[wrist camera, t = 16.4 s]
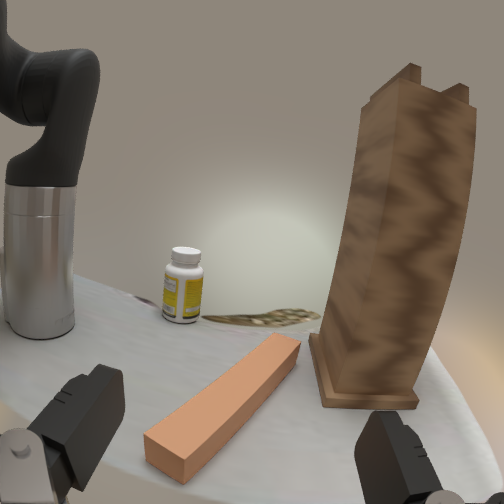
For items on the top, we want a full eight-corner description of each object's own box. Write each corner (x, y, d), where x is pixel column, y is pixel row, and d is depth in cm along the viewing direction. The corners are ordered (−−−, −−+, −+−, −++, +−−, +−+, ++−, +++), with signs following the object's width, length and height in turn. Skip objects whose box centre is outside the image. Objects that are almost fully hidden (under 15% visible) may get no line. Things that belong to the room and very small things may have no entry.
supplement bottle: (200, 311, 47) (208, 248, 45) (197, 327, 42) (204, 257, 40) (165, 306, 47) (171, 243, 45) (158, 320, 42) (163, 251, 40)
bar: (145, 462, 19) (143, 433, 18) (269, 356, 38) (274, 332, 37) (183, 487, 17) (184, 459, 16) (294, 366, 37) (301, 341, 36)
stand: (323, 406, 28) (393, 52, 21) (308, 340, 43) (353, 94, 36) (415, 408, 28) (489, 92, 21) (378, 348, 43) (426, 116, 36)
